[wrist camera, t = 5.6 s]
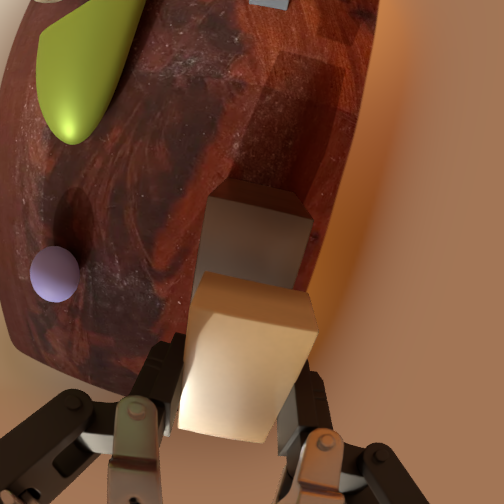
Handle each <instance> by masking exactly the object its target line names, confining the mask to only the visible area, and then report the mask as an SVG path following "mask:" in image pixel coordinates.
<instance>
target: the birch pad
mask: <svg viewBox="0 0 504 504" xmlns="http://www.w3.org/2000/svg"><path fill="white" fill-rule="evenodd" d="M318 333H319V330H318V326H317V322H316V319H315V315H314V311H313V308H312V304H311V301H310V297H309V294H308V293H306V292H301V291H296V290H292V289H287V288H282V287H277V286H272V285H268V284H263V283H258V282H254V281H249V280H244V279H240V278H235V277H231V276H226V275H222V274H217V273H213V272H209V271H205V272H204V274H203V276H202V278H201V281H200V283H199V285H198V288H197V290H196V292H195V295H194V297H193V300H192V302H191V304H190V308H189V316H188V323H187V331H186V339H185V348H184V357H183V362H184V366H183V376H182V386H181V396H180V402H179V410H178V424H177V427H178V428H180V429H184V430H188V431H193V432H198V433H202V434H207V435H212V436H217V437H223V438H229V439H235V440H242V441H249V442H257V443H264V441H265V439H266V437H267V436H268V434H269V432H270V430H271V429H272V427H273V425H274V423H275V421H276V419H277V416H278V414H279V412H280V410H281V408H282V406H283V405H284V403H285V401H286V399H287V397H288V395H289V393H290V391H291V389H292V387H293V385H294V383H296V381H297V378H298V376H299V374H300V372H301V370H302V368H303V366H304V364H305V362H306V359H307V357H308V355H309V353H310V351H311V348H312V346H313V344H314V342H315V339H316V337H317V335H318Z"/></svg>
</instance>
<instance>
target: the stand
mask: <svg viewBox="0 0 504 504" xmlns="http://www.w3.org/2000/svg"><path fill="white" fill-rule="evenodd" d="M313 222H314V220H313V218H312V217H311V215H310V214H309V212H308V211H307V210H306V208H305V207H304V205H303V204H302V202H301V201H300V200H299V198H298V197H297V195H296V194H295V193H294V192H290V191H286V190H282V189H277V188H273V187H269V186H265V185H261V184H256V183H252V182H247V181H243V180H238V179H234V178H229V177H227V178H226V179H225V180H224V181H223V182H222V183H221V184H220V185H219V186H218V187H217V188H216V189H215V190H214V191H213V192H212V193H211V194H210V195H209V196H208V199H207V204H206V209H205V215H204V220H203V226H202V232H201V237H200V243H199V249H198V255H197V261H196V267H195V274H194V280H193V287H192V294H191V301H190V304H191V302H192V300H193V297H194V295H195V292H196V290H197V288H198V285H199V283H200V281H201V278H202V276H203V274H204V272H205V271H209V272H213V273H217V274H222V275H226V276H231V277H235V278H240V279H244V280H249V281H254V282H258V283H263V284H268V285H272V286H277V287H282V288H287V289H293V286H294V283H295V280H296V277H297V274H298V271H299V268H300V265H301V261H302V258H303V255H304V252H305V249H306V245H307V242H308V239H309V235H310V232H311V229H312V225H313Z"/></svg>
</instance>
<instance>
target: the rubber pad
mask: <svg viewBox="0 0 504 504" xmlns="http://www.w3.org/2000/svg"><path fill="white" fill-rule="evenodd" d="M289 1H290V0H249V4H254V5H260V6H266V7H272V8H277V9H282V10H287V8H288V4H289Z"/></svg>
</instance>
